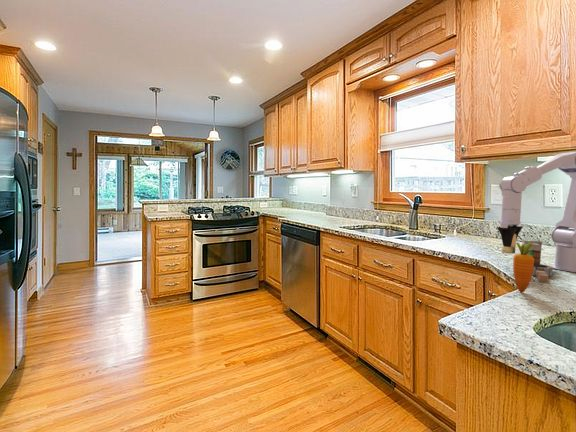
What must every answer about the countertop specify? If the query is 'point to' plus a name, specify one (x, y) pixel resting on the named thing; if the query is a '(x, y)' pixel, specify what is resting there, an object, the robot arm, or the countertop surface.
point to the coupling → (542, 272)
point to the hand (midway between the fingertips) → (508, 246)
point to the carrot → (523, 267)
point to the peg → (510, 249)
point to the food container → (535, 250)
